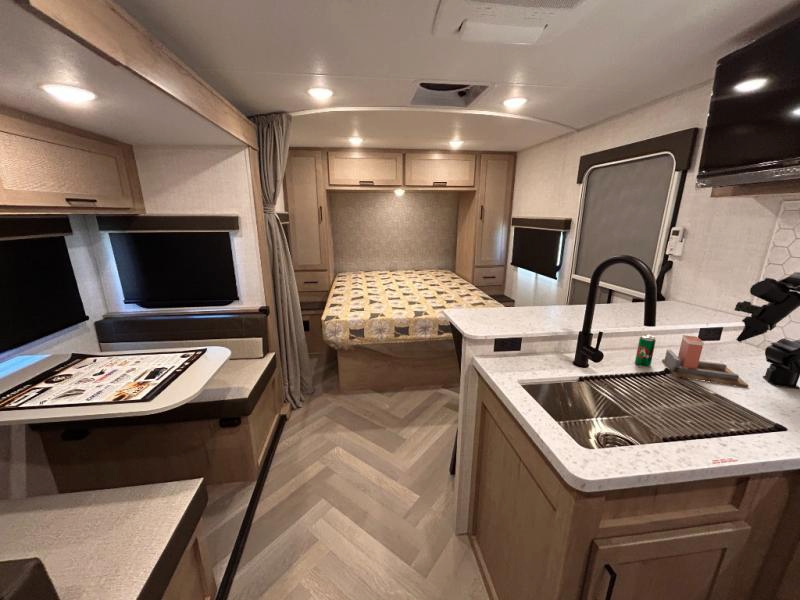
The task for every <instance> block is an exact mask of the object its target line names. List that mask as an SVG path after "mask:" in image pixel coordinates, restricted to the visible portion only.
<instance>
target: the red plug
mask: <svg viewBox="0 0 800 600" xmlns="http://www.w3.org/2000/svg"><path fill="white" fill-rule="evenodd" d="M704 344H705V342H704V341H703V340H701V339H700V338H699V337H698V336H696V335H693V336H692V335H682V337H681V341H680V347H679V350H678V355H677V357H678V358H679V359H680V360H681V363H680V366H681V367H684V366H686V367H688V368H695V369H697V367H698V363H699V361H700V358H701V354H702V351H703V347H704Z"/></svg>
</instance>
